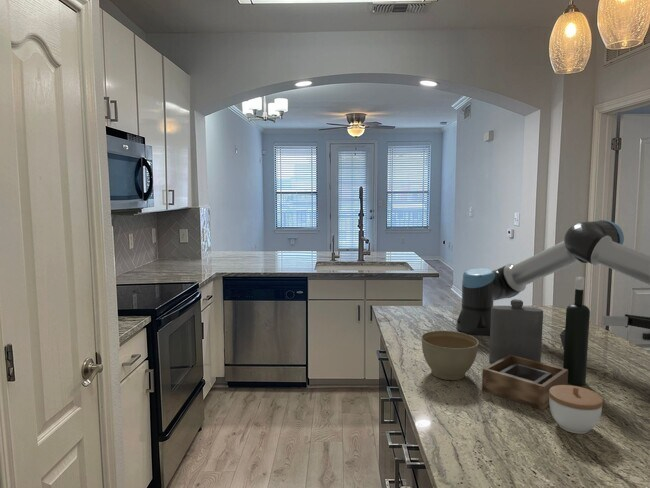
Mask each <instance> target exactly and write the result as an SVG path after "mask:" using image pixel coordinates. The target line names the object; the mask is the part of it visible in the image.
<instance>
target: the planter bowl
mask: <svg viewBox="0 0 650 488" xmlns="http://www.w3.org/2000/svg"><path fill="white" fill-rule="evenodd" d="M420 338H421V348H422V349H421V350H422V354H423V357H424V359H425V363H426V364H427V365H428V367H429V368H430V371H431V374H432V376H434V377H436V378H438V379H441V380H446V381H447V380H448V381H459V380H462V379H464V378H465V377H466V373H467V372H468V371H469V370H470V369H471V368H472V367H473V364H474V362H475V361H476V358H477V354H478V347H479V340H478V339H477V338H476V337H474V336H472V335H471V334H468V333H465V332H461V331H459V332H458V331H452V330H432V331H428V332H424V333H422V335H421V337H420Z"/></svg>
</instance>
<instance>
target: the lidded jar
mask: <svg viewBox="0 0 650 488" xmlns="http://www.w3.org/2000/svg"><path fill="white" fill-rule="evenodd" d="M603 405H604V399H603V397H602V396H601V395H600V394H598V393H597V392H595V391H593V390H591V389H588V388H586V387H585V388H584V387H582V386H575V385H570V384H567V385H557V386H553V387H551V388H550V390H549V412H550V415H551V417H552V418H553V420H554V421H555V422H556V423H557V424H558V426H559V427H560V428H561V429H562V430H564V431H565V432H569V433H572V434H577V435H581V434H582V435H584V434H587V433H589V431H591V430H592V429H594V428H595V427H597V425H598V424H599V422H600V419H601V416H602V413H603V412H602V411H603Z"/></svg>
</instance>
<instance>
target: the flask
mask: <svg viewBox="0 0 650 488" xmlns="http://www.w3.org/2000/svg"><path fill="white" fill-rule="evenodd" d="M543 321H544V310H542V309H541V308H537V307H531V306H530V307H529V306H524V301H523V300H522V299H516V298H514V299H511V300H510V305H493V307H492V308H491V328H490V336H489V355H488V357H489V358H488V360H489V362H490V363H491V364H493V363H495V362H496V361H498V360H500V359H502V358H504V357H506V356H508V355H514V356H518V357H522V358H525V359H529V360H533V361H537V362H541V363H542V361H541V359H542V343H543V341H542V340H543V327H544V326H543V323H544V322H543Z"/></svg>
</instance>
